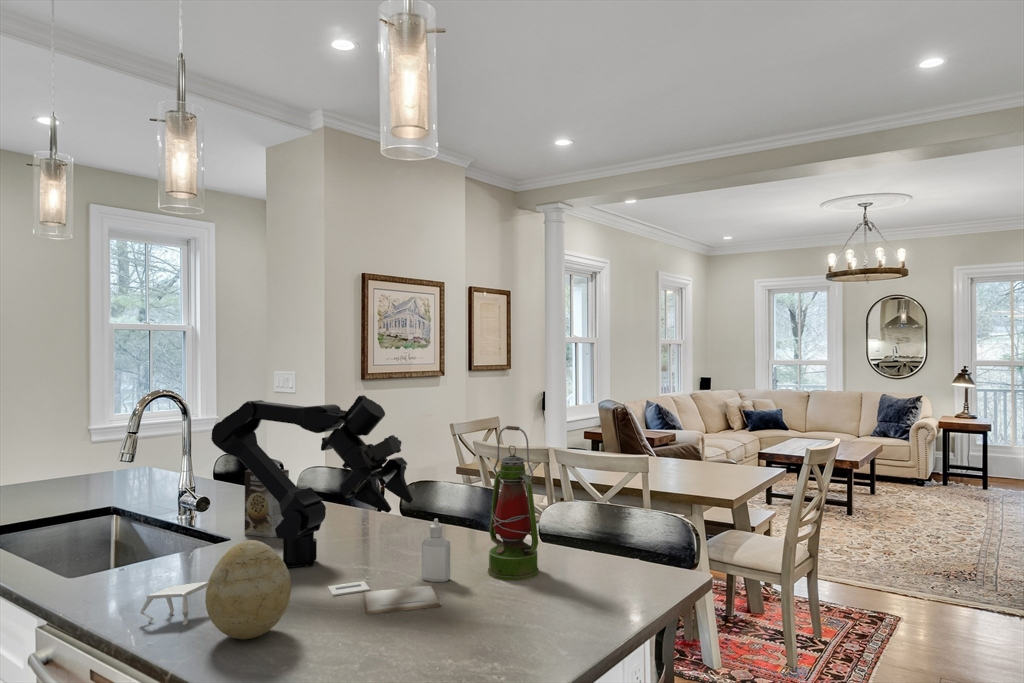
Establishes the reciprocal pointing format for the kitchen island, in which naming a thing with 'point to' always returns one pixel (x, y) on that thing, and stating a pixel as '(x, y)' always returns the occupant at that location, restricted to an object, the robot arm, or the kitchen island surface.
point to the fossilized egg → (248, 590)
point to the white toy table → (175, 592)
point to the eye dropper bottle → (436, 555)
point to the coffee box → (260, 508)
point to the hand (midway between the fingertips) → (401, 506)
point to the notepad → (400, 599)
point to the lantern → (513, 520)
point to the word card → (348, 588)
